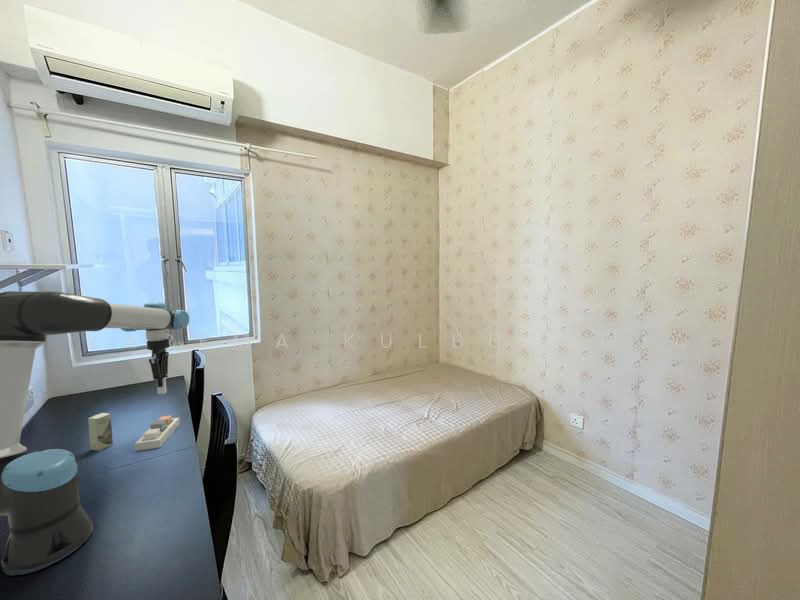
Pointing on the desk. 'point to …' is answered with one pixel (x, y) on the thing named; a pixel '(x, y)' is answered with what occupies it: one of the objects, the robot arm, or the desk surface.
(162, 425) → the key slate
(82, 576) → the desk surface
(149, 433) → the key ivory
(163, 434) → the keypad housing
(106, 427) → the box
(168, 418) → the key terracotta
